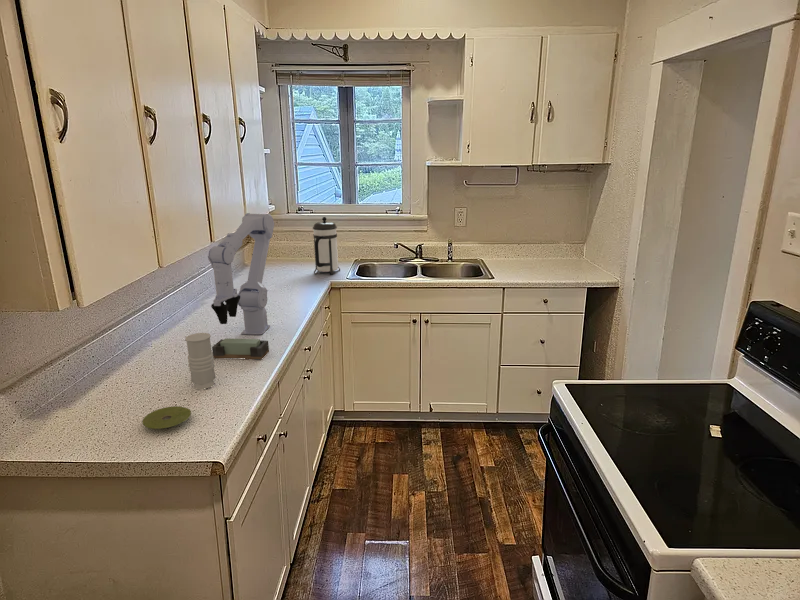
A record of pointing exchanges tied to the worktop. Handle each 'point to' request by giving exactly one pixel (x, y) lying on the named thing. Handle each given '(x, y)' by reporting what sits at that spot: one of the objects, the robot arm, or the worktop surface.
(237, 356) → the end cap cradle
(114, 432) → the worktop surface
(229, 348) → the stone
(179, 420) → the olive green disc
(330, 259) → the coffee press
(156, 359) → the worktop surface
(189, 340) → the ribbed grey can
